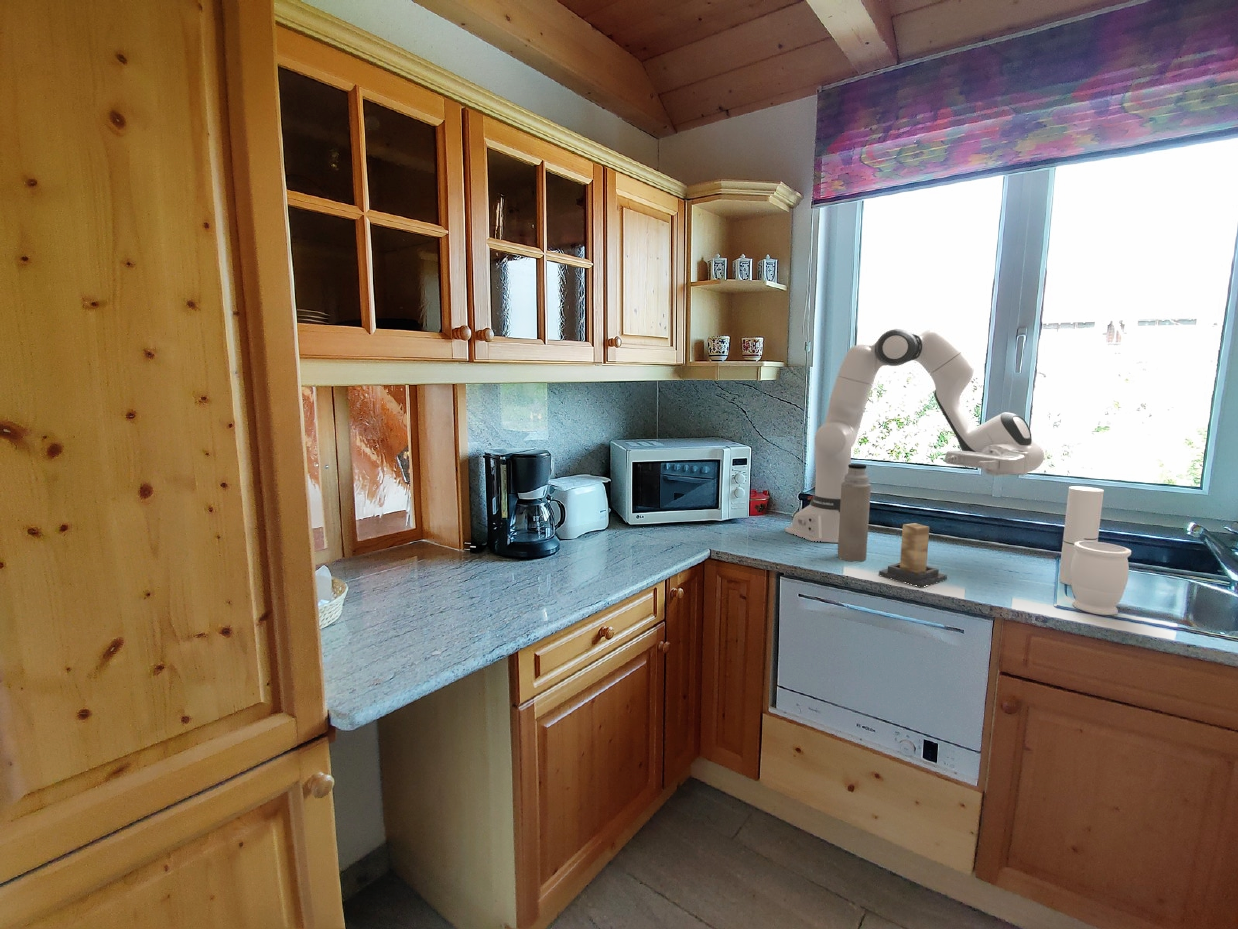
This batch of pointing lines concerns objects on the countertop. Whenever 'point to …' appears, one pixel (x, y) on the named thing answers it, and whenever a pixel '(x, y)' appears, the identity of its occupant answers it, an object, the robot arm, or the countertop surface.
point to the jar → (1099, 576)
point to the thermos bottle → (854, 514)
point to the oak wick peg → (914, 547)
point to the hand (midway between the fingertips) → (964, 462)
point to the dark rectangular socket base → (913, 575)
